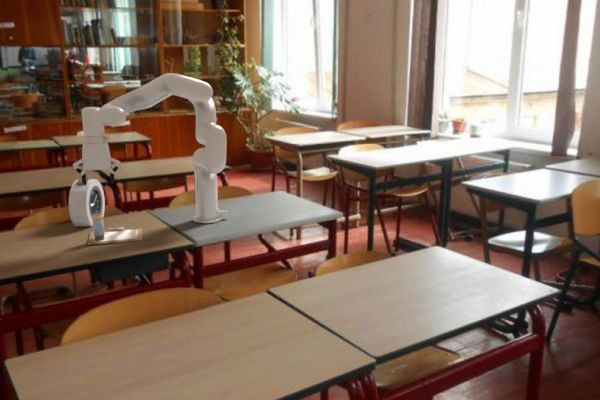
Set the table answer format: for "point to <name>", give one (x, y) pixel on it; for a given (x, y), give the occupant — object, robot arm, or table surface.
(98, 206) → the alarm clock
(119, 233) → the clipboard
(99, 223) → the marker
